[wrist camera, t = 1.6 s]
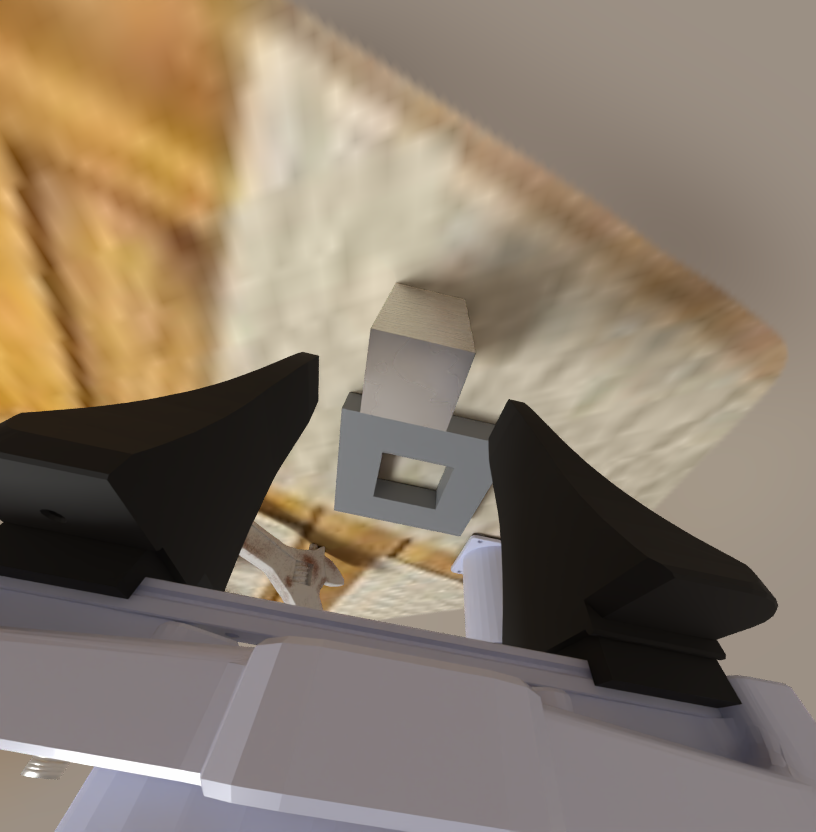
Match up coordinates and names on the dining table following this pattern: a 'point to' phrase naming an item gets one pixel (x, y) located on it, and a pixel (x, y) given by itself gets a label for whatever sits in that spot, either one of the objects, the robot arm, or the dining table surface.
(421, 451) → the socket block
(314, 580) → the wrench
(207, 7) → the dining table surface
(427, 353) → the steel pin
